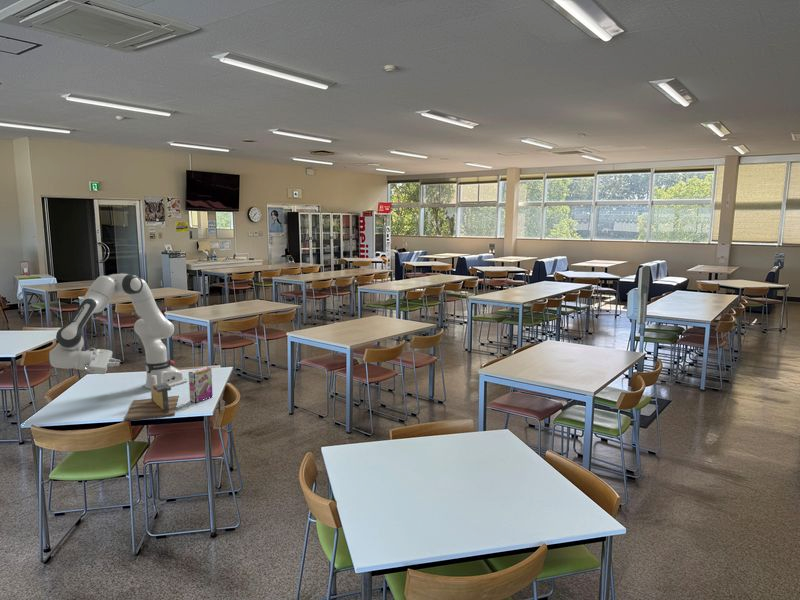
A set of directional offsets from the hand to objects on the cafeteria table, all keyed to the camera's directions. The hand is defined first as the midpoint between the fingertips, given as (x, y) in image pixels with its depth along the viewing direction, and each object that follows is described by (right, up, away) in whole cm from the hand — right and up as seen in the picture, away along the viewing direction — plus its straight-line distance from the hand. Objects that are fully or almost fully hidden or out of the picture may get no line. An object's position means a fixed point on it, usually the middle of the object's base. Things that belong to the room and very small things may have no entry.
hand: (119, 362), depth 263 cm
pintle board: (+13, -24, +8) cm, 28 cm away
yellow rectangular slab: (+15, -22, +10) cm, 29 cm away
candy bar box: (+33, -22, +21) cm, 45 cm away
